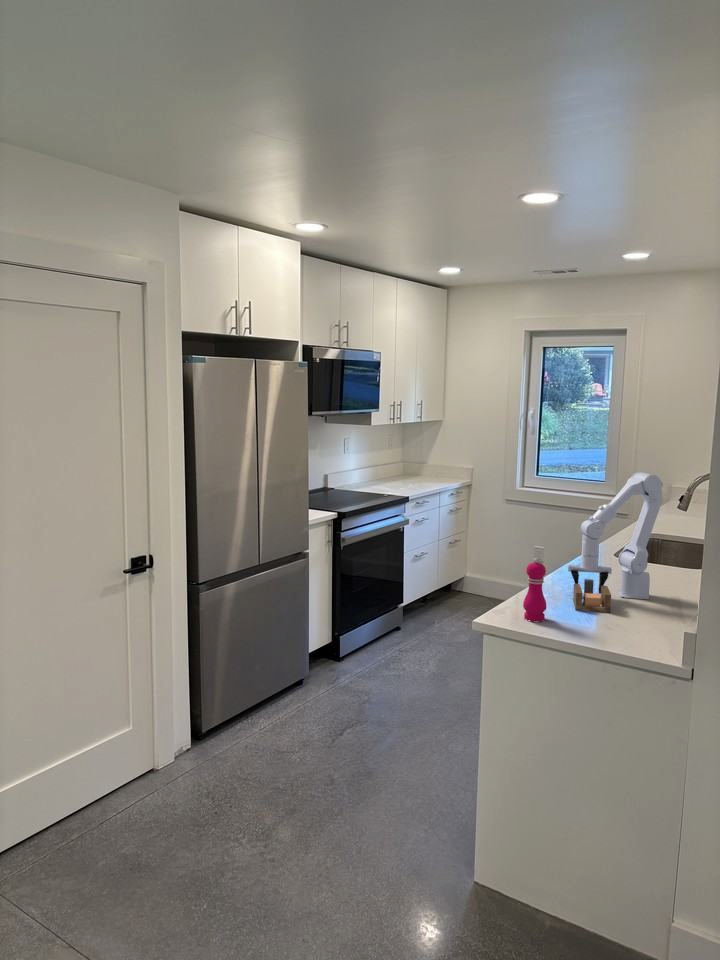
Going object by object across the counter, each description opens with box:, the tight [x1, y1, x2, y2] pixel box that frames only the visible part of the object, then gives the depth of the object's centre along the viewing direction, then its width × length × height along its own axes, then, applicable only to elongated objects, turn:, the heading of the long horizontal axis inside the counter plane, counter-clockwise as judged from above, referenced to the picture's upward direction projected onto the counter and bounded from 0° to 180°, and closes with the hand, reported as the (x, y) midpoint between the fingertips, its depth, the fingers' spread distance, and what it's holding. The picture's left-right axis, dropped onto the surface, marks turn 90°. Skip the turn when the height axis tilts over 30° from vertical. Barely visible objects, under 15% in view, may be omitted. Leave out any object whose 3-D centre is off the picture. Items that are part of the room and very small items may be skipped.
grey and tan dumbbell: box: [582, 578, 601, 607], centre depth 234 cm, size 5×16×6 cm, turn 167°
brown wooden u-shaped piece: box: [572, 583, 612, 614], centre depth 230 cm, size 11×11×6 cm
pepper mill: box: [522, 557, 547, 622], centre depth 216 cm, size 7×7×20 cm
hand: (588, 592), depth 240 cm, fingers open, 7 cm apart
